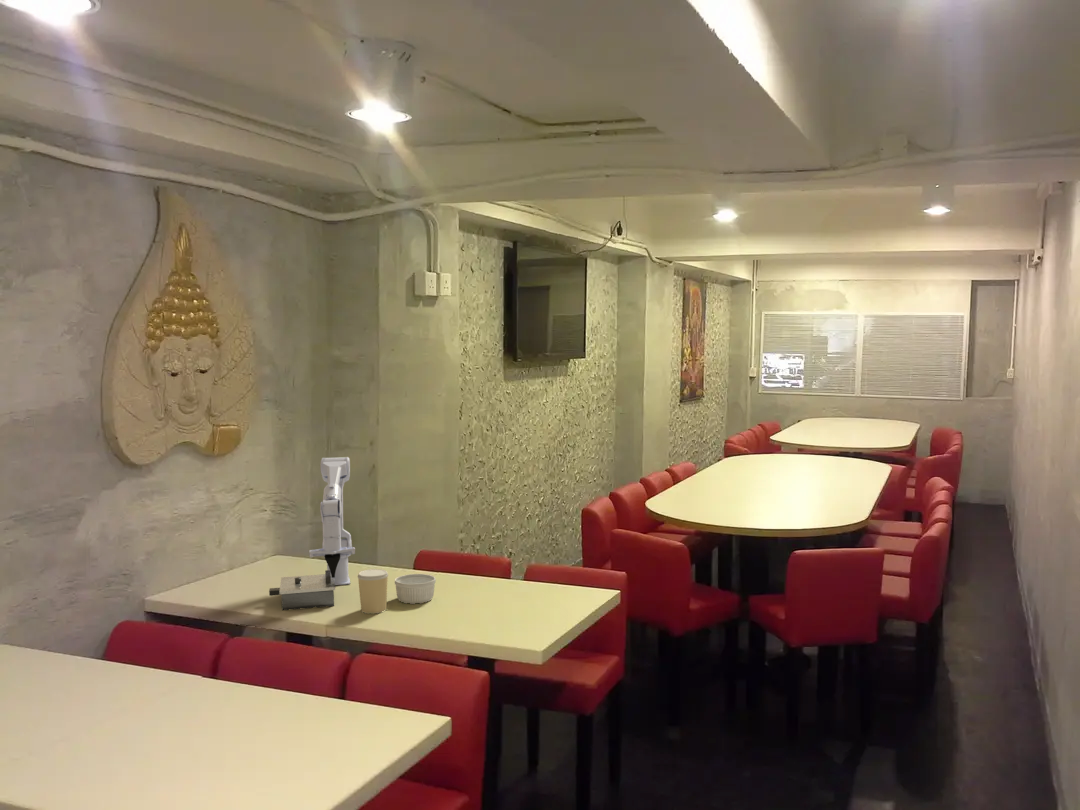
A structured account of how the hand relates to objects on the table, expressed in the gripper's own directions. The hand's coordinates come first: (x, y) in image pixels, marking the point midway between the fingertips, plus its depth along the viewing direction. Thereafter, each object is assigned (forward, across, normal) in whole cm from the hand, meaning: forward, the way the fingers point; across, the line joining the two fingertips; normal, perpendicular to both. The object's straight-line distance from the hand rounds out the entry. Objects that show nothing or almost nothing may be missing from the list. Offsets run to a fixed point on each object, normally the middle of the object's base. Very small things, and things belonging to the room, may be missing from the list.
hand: (333, 576), depth 286 cm
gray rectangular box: (+7, -10, 0) cm, 13 cm away
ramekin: (+8, +26, -8) cm, 28 cm away
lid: (+2, -8, 0) cm, 8 cm away
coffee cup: (+8, +12, -16) cm, 21 cm away
